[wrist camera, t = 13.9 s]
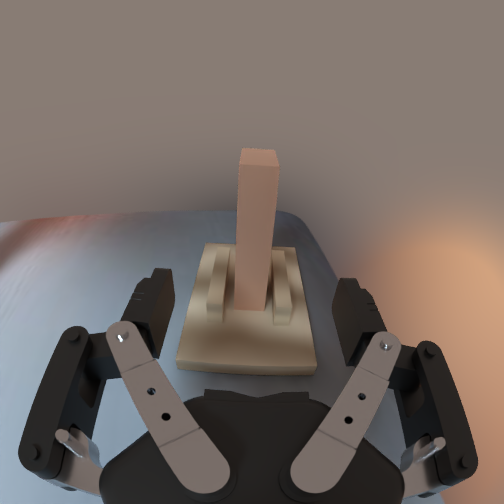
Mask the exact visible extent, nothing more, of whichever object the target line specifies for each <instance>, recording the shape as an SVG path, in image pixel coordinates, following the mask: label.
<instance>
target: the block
mask: <svg viewBox="0 0 504 504" xmlns="http://www.w3.org/2000/svg"><path fill="white" fill-rule="evenodd" d="M279 170H280V165H279V163H278V159H277V156H276V153H275V150H267V149H252V148H242V153H241V158H240V163H239V180H238V205H237V229H236V257H235V290H234V310H251V311H264V309H265V300H266V292H267V284H268V275H269V266H270V257H271V248H272V239H273V230H274V221H275V211H276V202H277V192H278V182H279Z"/></svg>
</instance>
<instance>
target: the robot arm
mask: <svg viewBox="0 0 504 504" xmlns="http://www.w3.org/2000/svg"><path fill="white" fill-rule="evenodd" d="M174 304H175V292H174V284H173V277H172V271H171V269H163V268H155V269H154V271H153V274H152V276H151V278H144V279H143V280H141V281H140V282H139V283H138V284H137V286H136V288H135V290H134V293H133V294H132V296H131V299H130V300H129V303H128V305H127V307H126V309H125V311H124V313H123V316H122V318H121V320H120V321H119V322H116V323H114V324H112V325H111V326H110V327H109V328H108V330H107V332H104V333H96V334H89V333H88V331H87V330H86V329H85V328H84V327H81V326H73V327H70V328H68V329H67V330H65V331H64V333H63V334H62V335H61V338H60V340H59V342H58V344H57V346H56V348H55V350H54V353H53V355H52V357H51V359H50V362H49V364H48V366H47V369H46V371H45V373H44V376H43V378H42V381H41V383H40V386H39V388H38V391H37V393H36V396H35V399H34V402H33V404H32V407H31V410H30V413H29V416H28V419H27V422H26V425H25V428H24V431H23V435H22V438H21V441H20V445H19V449H18V456H19V459H20V462H21V464H22V465H23V466H24V467H25V468H26V469H27V470H29V471H31V472H32V473H34V474H36V475H37V476H38V477H40V478H42V479H43V480H45V481H47V482H49V483H51V484H53V485H55V486H58V487H61V488H63V489H65V490H68V491H75V490H79V491H82V492H85V493H89V494H92V495H95V496H99V497H101V498H102V500H103V503H104V504H401V502H402V500H404V499H407V498H411V497H415V496H419V497H422V498H426V497H429V496H431V495H434V494H436V493H438V492H441V491H443V490H445V489H447V488H449V487H451V486H453V485H455V484H458V483H459V482H461V481H463V480H465V479H467V478H469V477H471V476H472V475H473V474H474V473H475V471H476V469H477V466H478V457H477V453H476V449H475V445H474V441H473V438H472V434H471V431H470V427H469V424H468V421H467V418H466V415H465V411H464V409H463V406H462V403H461V400H460V397H459V394H458V391H457V389H456V386H455V383H454V381H453V378H452V375H451V373H450V370H449V368H448V365H447V363H446V361H445V358H444V356H443V353H442V351H441V349H440V348H439V347H438V346H437V345H436V344H435V343H433V342H431V341H422V342H420V343H419V344H418V346H417V347H416V348H415V347H410V346H405V345H401V343H400V341H399V339H398V338H397V337H396V336H395V335H393V334H391V333H389V332H387V329H386V327H385V325H384V322H383V320H382V318H381V315H380V313H379V311H378V308H377V306H376V305H375V302H374V299H373V297H372V296H371V294H369V292H368V291H367V290H366V289H361V288H360V286H359V284H358V281H357V280H356V279H355V278H340V280H339V282H338V286H337V289H336V293H335V296H334V299H333V303H332V314H333V318H334V321H335V325H336V329H337V332H338V336H339V340H340V344H341V347H342V351H343V355H344V359H345V363H346V366H355V371H354V372H353V374H352V376H351V378H350V379H349V381H348V383H347V384H346V386H345V388H344V389H343V391H342V392H341V394H340V396H339V397H338V399H337V400H336V402H335V404H334V405H333V407H332V408H330V407H329V406H327V405H325V404H323V403H321V402H319V401H316V400H312V399H309V393H308V392H283V393H278V394H274V395H269V396H265V397H259V398H256V397H251V396H247V395H243V394H240V393H236V392H232V391H223V390H210V389H205V392H204V396H200V397H196V398H192V399H190V400H187V401H185V402H182V401H181V399H180V398H179V396H178V395H177V393H176V391H175V390H174V388H173V387H172V385H171V383H170V382H169V380H168V379H167V377H166V375H165V374H164V372H163V370H162V369H161V367H160V365H159V364H158V362H157V360H156V359H153V358H157V359H159V356H160V353H161V349H162V346H163V342H164V339H165V335H166V332H167V328H168V325H169V321H170V318H171V315H172V311H173V308H174ZM114 378H123V381H124V383H125V385H126V387H127V389H128V391H129V394H130V396H131V398H132V400H133V402H134V404H135V406H136V408H137V410H138V412H139V414H140V415H141V417H142V419H143V421H144V423H145V425H146V427H147V428H148V431H147V432H146V433H145V434H143V435H142V436H141V437H140V438H139V439H137V440H136V441H135V442H134V443H132V444H131V445H130V446H129V447H127V448H126V449H125V450H123V451H122V452H121V453H120V454H118V455H117V456H116V457H114V458H113V459H112V460H111V461H109V462H108V463H107V464H106V465H105V467H104V468H102V466H101V464H100V460H99V450H98V447H97V446H96V444H95V443H94V442H93V441H92V440H91V439H92V435H93V430H94V426H95V422H96V418H97V414H98V410H99V406H100V402H101V398H102V395H103V391H104V387H105V384H106V380H107V379H114ZM387 388H390V389H393V390H394V394H395V398H396V402H397V406H398V411H399V415H400V419H401V424H402V429H403V434H404V439H405V444H406V450H405V451H404V452H403V454H402V456H401V464H400V469H399V468H398V467H397V466H396V465H395V464H394V463H392V462H391V461H390V460H389V459H388V458H387V457H385V456H384V455H383V454H382V453H381V452H380V451H378V450H377V449H376V448H375V447H374V446H373V445H372V444H370V443H369V442H368V441H367V440H366V439H365V438H364V437H363V436H364V434H365V432H366V431H367V429H368V427H369V425H370V423H371V421H372V419H373V417H374V415H375V413H376V411H377V409H378V407H379V405H380V403H381V400H382V398H383V396H384V394H385V392H386V390H387Z"/></svg>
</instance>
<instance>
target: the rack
mask: <svg viewBox="0 0 504 504" xmlns="http://www.w3.org/2000/svg"><path fill="white" fill-rule="evenodd" d="M235 257H236V244H222V243H206V244H205V247H204V251H203V255H202V258H201V262H200V265H199V269H198V273H197V276H196V280H195V284H194V287H193V291H192V295H191V299H190V303H189V307H188V310H187V314H186V318H185V322H184V326H183V330H182V334H181V339H180V343H179V347H178V351H177V355H176V363H177V368H178V369H184V370H193V371H203V372H215V373H229V374H247V375H314V373H315V370H316V368H317V362H316V356H315V350H314V344H313V339H312V333H311V328H310V322H309V317H308V311H307V306H306V301H305V296H304V291H303V286H302V281H301V276H300V271H299V266H298V261H297V256H296V252H295V248H292V247H275V246H272V248H271V257H270V266H269V275H268V284H267V292H266V300H265V309H264V311H251V310H234V290H235Z"/></svg>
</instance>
